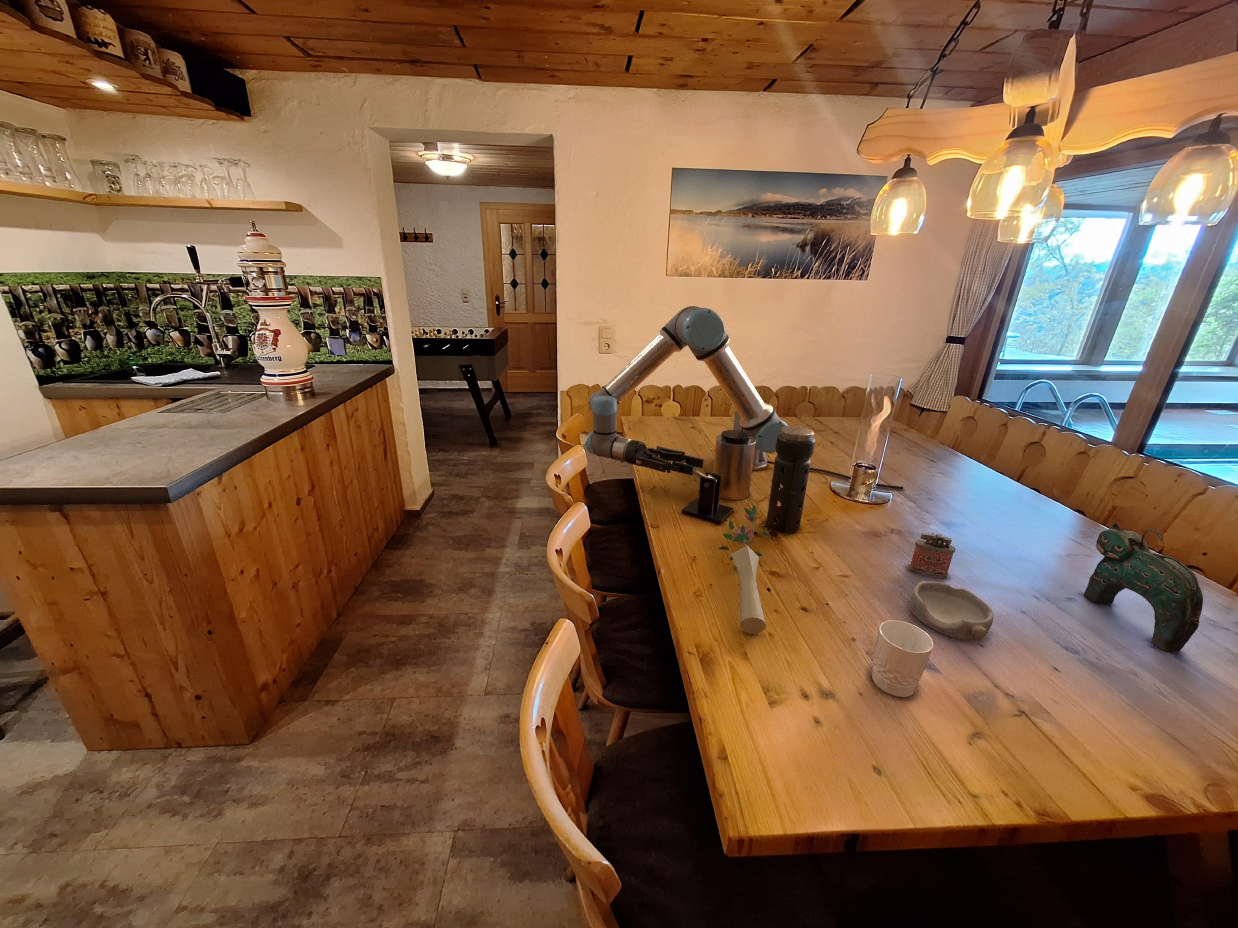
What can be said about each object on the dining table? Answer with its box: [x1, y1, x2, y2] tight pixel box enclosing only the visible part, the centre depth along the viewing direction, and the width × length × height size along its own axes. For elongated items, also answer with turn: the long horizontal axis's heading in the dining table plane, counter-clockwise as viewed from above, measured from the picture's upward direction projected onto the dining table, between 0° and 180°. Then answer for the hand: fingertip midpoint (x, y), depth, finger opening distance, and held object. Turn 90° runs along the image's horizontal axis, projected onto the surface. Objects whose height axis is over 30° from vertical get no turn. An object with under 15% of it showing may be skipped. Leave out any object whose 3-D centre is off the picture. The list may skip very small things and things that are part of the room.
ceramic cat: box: [1083, 522, 1204, 652], centre depth 97 cm, size 20×6×20 cm, turn 178°
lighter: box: [908, 532, 956, 579], centre depth 114 cm, size 8×3×10 cm, turn 71°
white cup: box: [870, 619, 935, 698], centre depth 83 cm, size 8×8×10 cm
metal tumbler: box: [712, 429, 756, 501], centre depth 154 cm, size 12×12×20 cm
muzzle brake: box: [765, 425, 816, 534], centre depth 131 cm, size 10×28×10 cm
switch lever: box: [679, 458, 718, 482], centre depth 142 cm, size 12×6×2 cm, turn 57°
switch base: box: [681, 471, 735, 526], centre depth 141 cm, size 12×10×12 cm
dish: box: [909, 580, 995, 641], centre depth 99 cm, size 14×14×5 cm
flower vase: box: [718, 504, 772, 635], centre depth 110 cm, size 12×12×35 cm
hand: (697, 467), depth 141 cm, fingers closed on switch lever, 6 cm apart
